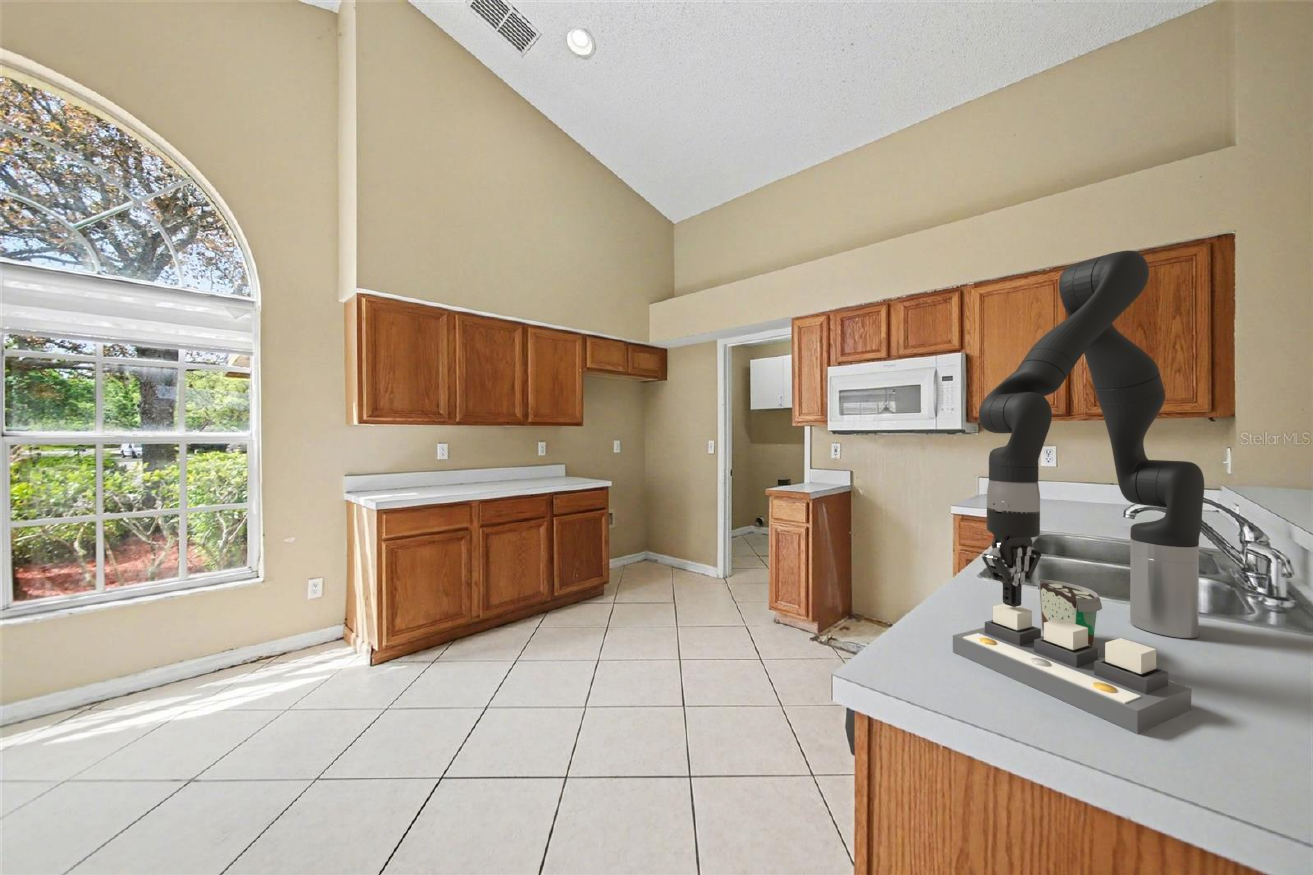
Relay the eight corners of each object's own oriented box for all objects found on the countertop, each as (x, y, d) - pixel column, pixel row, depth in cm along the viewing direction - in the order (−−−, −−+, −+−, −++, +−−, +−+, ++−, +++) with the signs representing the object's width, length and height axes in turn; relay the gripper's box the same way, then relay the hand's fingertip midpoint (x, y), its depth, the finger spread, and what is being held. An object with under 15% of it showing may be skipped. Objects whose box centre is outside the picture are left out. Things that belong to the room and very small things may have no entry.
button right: (1120, 656, 72) (1120, 638, 72) (1156, 668, 68) (1156, 649, 68) (1105, 661, 70) (1105, 642, 70) (1141, 674, 66) (1141, 654, 66)
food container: (1120, 660, 81) (1121, 602, 81) (1079, 657, 82) (1079, 600, 82) (1073, 631, 93) (1073, 580, 93) (1037, 628, 94) (1037, 578, 94)
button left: (1007, 618, 86) (1007, 603, 86) (1031, 626, 83) (1031, 610, 83) (993, 621, 85) (993, 606, 85) (1017, 630, 81) (1017, 614, 81)
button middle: (1058, 635, 79) (1058, 618, 79) (1087, 645, 75) (1088, 628, 75) (1043, 639, 78) (1043, 622, 78) (1072, 650, 74) (1073, 632, 74)
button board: (1003, 638, 90) (1003, 612, 90) (1191, 709, 67) (1191, 674, 67) (952, 652, 85) (952, 624, 85) (1137, 734, 62) (1137, 695, 61)
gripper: (1013, 502, 90) (1013, 593, 90) (966, 506, 85) (965, 603, 85) (1060, 507, 83) (1059, 607, 83) (1011, 512, 78) (1010, 618, 78)
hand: (1011, 605), depth 84 cm, fingers closed
